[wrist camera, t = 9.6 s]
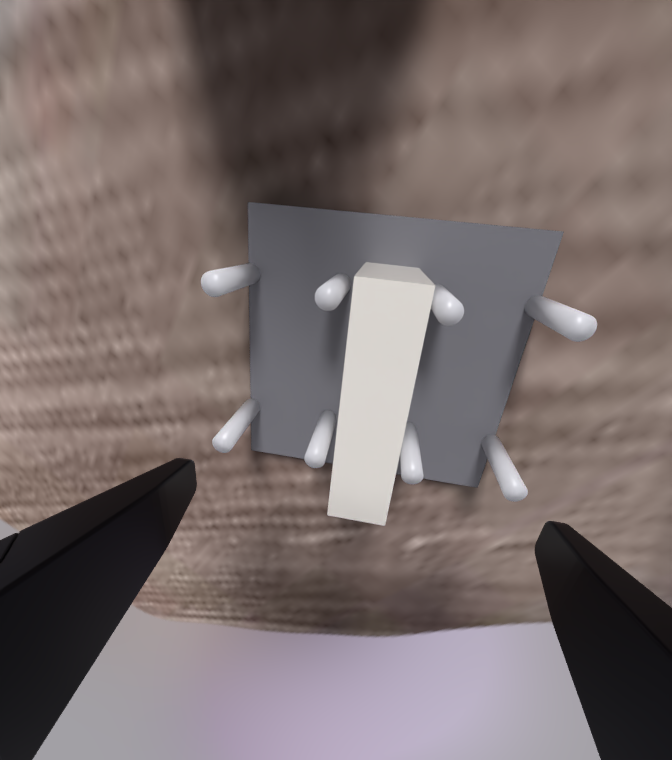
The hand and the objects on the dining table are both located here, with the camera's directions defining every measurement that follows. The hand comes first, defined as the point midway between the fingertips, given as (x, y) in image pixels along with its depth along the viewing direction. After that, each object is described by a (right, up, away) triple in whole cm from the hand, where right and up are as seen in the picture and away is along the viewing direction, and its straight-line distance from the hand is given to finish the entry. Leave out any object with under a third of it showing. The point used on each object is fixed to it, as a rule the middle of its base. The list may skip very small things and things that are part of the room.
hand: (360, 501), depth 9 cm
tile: (+2, +4, +9) cm, 10 cm away
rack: (+2, +4, +10) cm, 11 cm away
